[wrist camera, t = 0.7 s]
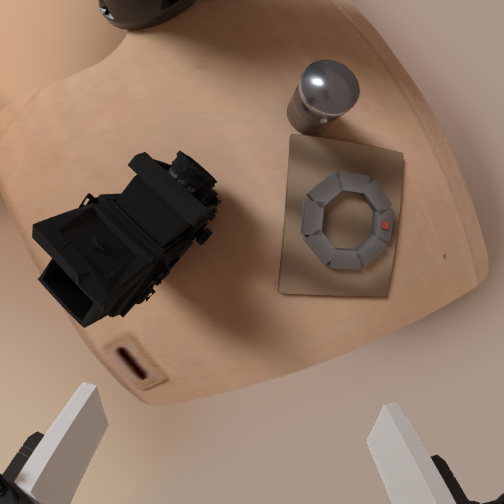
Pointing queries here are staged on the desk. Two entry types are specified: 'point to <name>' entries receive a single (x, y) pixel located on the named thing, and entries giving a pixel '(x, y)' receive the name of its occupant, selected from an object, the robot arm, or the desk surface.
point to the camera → (126, 238)
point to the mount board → (339, 218)
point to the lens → (322, 96)
